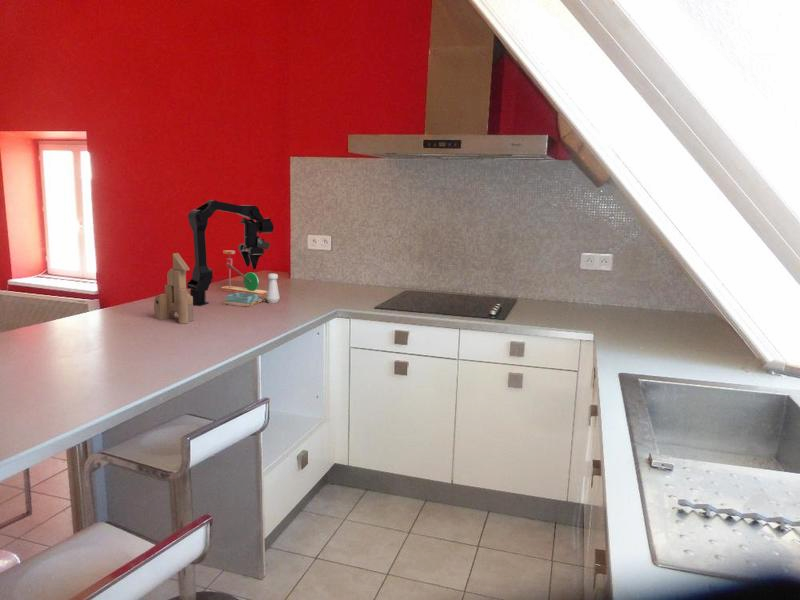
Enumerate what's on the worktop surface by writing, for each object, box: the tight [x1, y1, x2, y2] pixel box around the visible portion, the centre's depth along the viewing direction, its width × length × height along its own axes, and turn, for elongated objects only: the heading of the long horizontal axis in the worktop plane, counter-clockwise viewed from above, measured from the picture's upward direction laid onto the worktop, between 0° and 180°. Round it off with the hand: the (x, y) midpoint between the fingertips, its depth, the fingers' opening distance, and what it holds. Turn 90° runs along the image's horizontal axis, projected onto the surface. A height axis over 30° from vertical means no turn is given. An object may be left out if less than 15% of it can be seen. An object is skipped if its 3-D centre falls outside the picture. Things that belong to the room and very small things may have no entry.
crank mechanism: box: [220, 249, 268, 294], centre depth 279 cm, size 25×7×19 cm, turn 63°
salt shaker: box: [265, 272, 281, 304], centre depth 256 cm, size 6×6×13 cm
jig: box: [222, 292, 267, 307], centre depth 255 cm, size 18×12×4 cm, turn 166°
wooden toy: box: [153, 252, 194, 325], centre depth 215 cm, size 15×7×25 cm, turn 63°
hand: (251, 267), depth 264 cm, fingers open, 9 cm apart
